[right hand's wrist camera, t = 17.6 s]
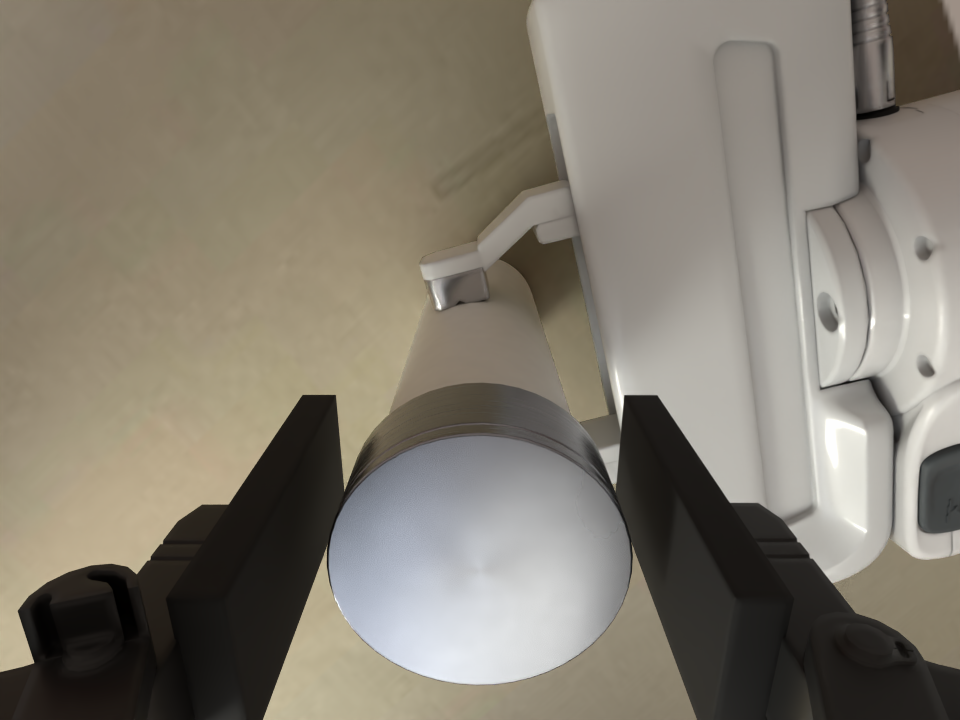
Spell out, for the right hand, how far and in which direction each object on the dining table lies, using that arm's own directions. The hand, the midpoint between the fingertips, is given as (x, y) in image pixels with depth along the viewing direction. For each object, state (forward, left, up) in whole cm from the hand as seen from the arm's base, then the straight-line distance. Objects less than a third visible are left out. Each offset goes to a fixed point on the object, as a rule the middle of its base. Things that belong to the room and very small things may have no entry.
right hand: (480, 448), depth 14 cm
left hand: (0, +1, -6) cm, 6 cm away
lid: (0, 0, +4) cm, 4 cm away
